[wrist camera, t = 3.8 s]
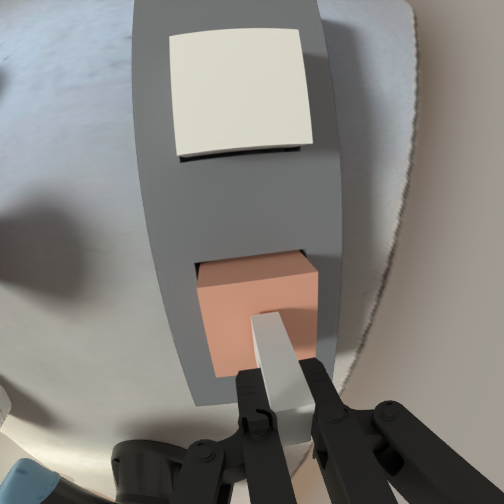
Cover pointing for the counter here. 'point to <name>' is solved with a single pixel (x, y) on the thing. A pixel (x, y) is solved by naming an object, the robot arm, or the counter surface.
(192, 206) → the key console
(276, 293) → the terracotta key
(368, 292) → the counter surface
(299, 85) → the offwhite key
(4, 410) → the honey pot
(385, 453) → the robot arm
